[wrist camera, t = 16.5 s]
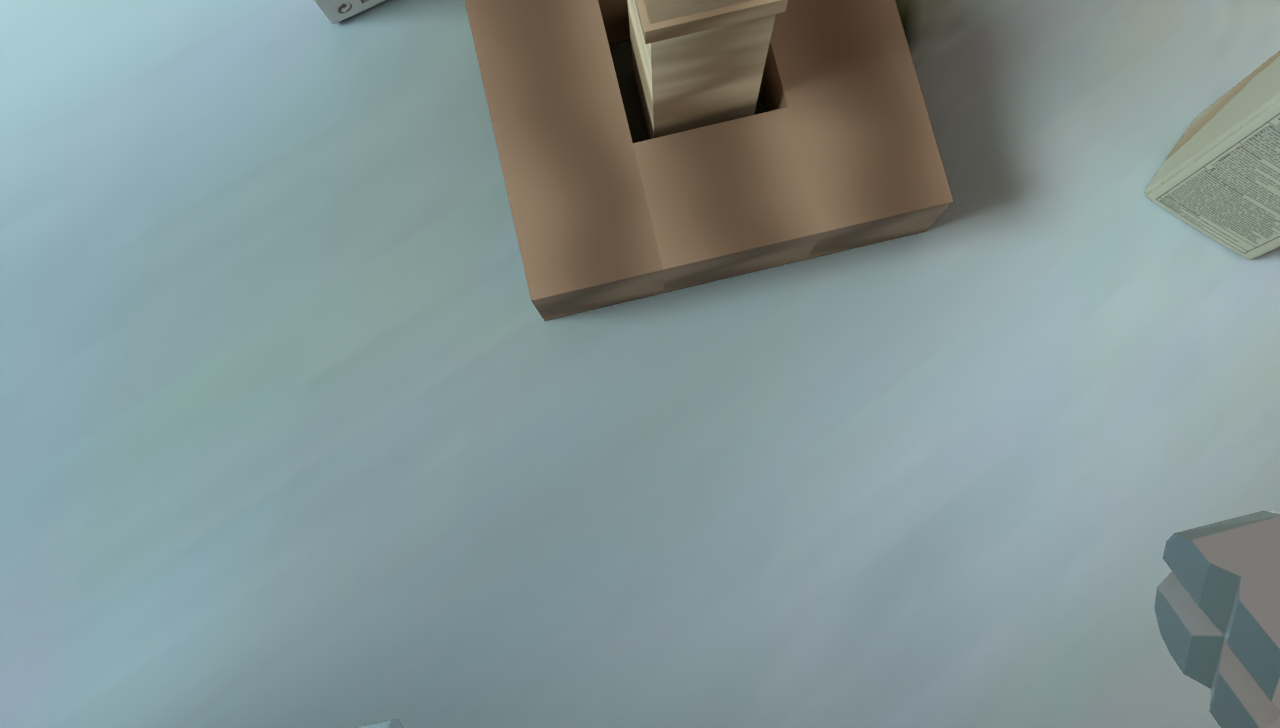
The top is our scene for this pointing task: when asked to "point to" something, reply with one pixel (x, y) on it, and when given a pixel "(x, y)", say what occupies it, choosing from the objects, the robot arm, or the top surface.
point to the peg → (699, 59)
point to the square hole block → (702, 152)
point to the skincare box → (343, 8)
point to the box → (1230, 167)
